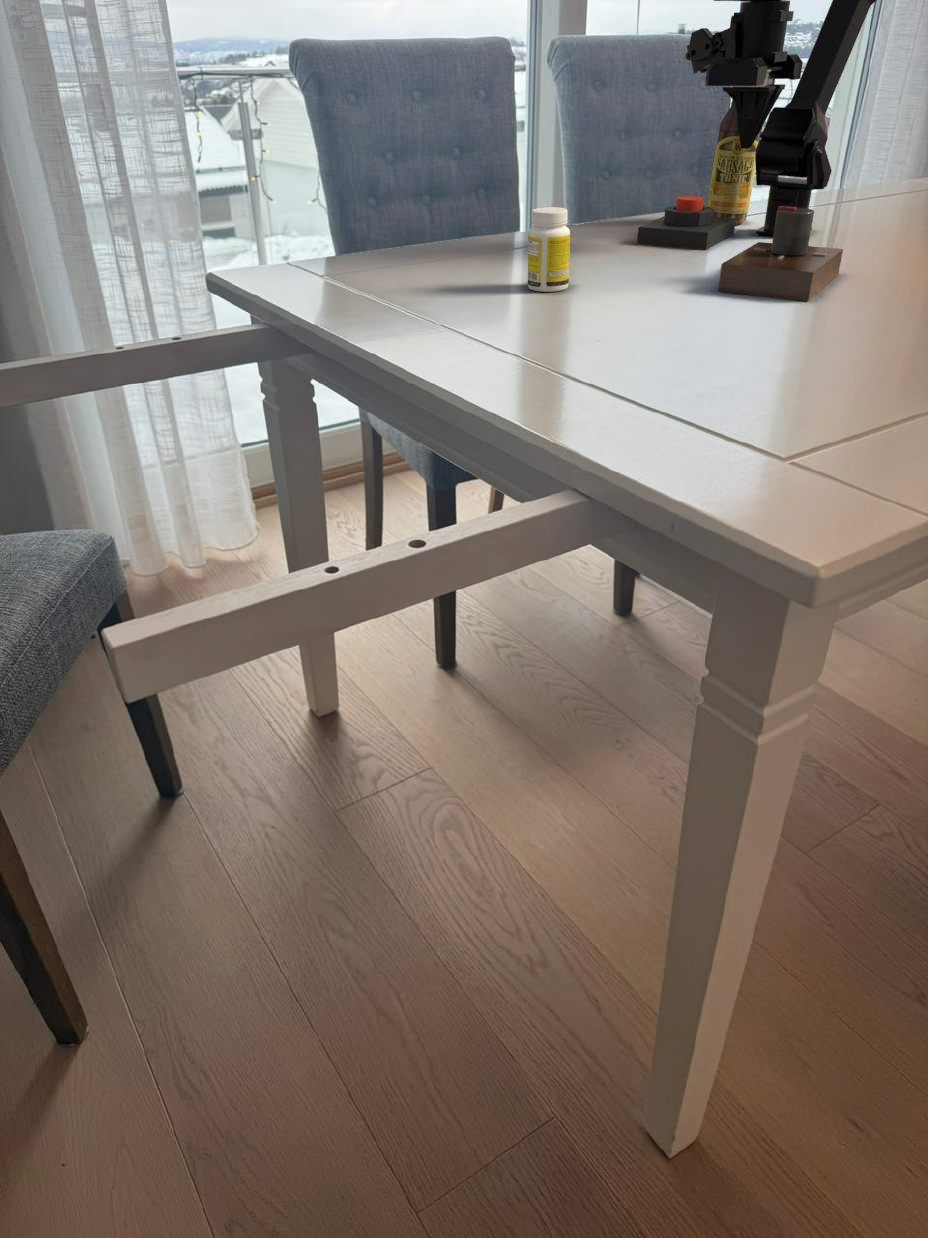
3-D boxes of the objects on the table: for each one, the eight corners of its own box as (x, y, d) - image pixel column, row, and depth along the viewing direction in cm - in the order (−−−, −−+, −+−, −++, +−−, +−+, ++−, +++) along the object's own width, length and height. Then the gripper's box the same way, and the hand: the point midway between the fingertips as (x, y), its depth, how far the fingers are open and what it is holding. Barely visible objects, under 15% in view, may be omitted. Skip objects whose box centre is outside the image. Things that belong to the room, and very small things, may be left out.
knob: (811, 250, 105) (819, 205, 102) (801, 257, 102) (809, 211, 99) (776, 247, 106) (783, 203, 104) (766, 253, 104) (773, 208, 101)
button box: (668, 229, 134) (670, 200, 132) (733, 234, 130) (738, 204, 128) (636, 243, 126) (639, 212, 124) (706, 249, 121) (709, 217, 119)
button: (681, 208, 128) (682, 195, 127) (705, 210, 126) (707, 196, 125) (672, 212, 125) (673, 198, 124) (697, 214, 124) (698, 200, 123)
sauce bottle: (704, 225, 136) (722, 72, 125) (705, 218, 141) (722, 70, 130) (749, 226, 135) (771, 71, 124) (748, 219, 140) (769, 70, 129)
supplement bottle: (572, 284, 106) (575, 206, 102) (562, 293, 102) (566, 213, 98) (533, 282, 107) (534, 205, 103) (522, 291, 104) (523, 212, 99)
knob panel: (754, 267, 112) (758, 240, 110) (838, 275, 107) (843, 247, 105) (717, 291, 102) (721, 262, 100) (808, 301, 97) (813, 270, 95)
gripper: (727, 4, 118) (711, 139, 126) (671, 3, 105) (658, 153, 113) (813, 1, 112) (791, 142, 121) (765, -1, 99) (744, 156, 108)
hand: (745, 148), depth 116 cm, fingers closed
